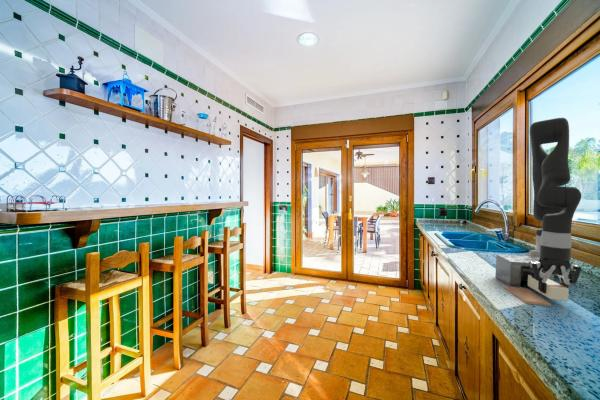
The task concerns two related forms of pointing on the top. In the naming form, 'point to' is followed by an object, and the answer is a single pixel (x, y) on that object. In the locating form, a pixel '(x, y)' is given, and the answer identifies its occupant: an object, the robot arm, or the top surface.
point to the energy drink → (535, 253)
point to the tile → (527, 296)
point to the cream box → (550, 289)
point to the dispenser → (515, 269)
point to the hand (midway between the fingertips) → (552, 293)
